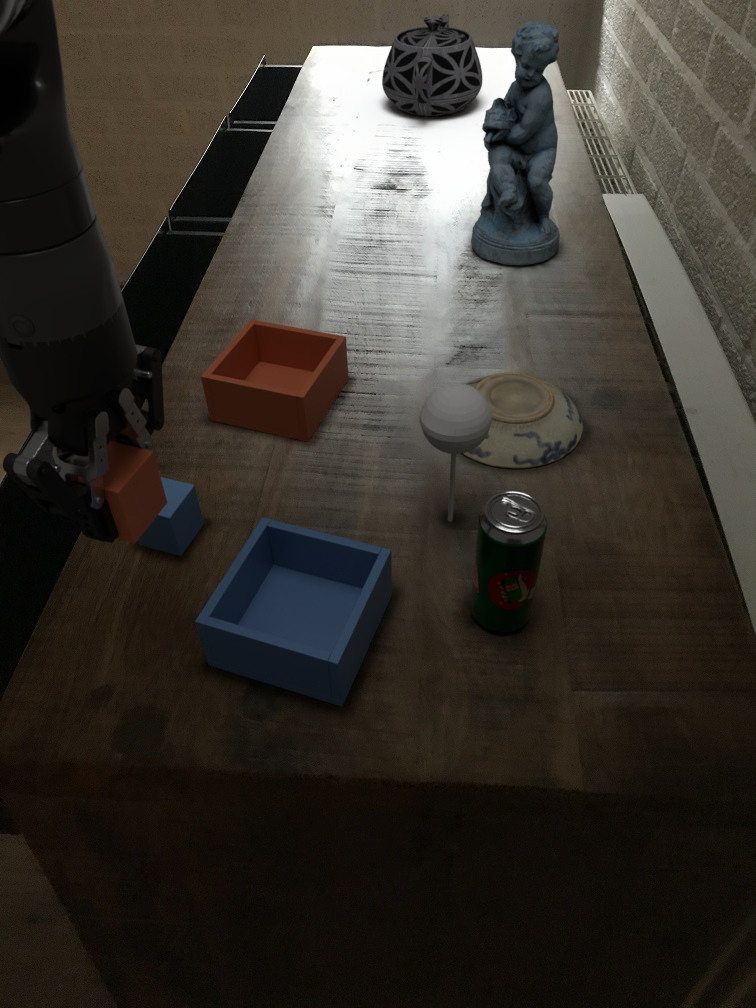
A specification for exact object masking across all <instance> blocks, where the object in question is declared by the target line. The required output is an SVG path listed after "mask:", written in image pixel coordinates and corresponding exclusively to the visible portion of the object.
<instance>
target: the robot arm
mask: <svg viewBox="0 0 756 1008" xmlns="http://www.w3.org/2000/svg"><path fill="white" fill-rule="evenodd" d="M54 5H55V4H54V0H0V359H1V362H2V365H3V367H4V369H5V372H6V374H7V377H8V379H9V381H10V383H11V385H12V386H13V388H14V389H15V390H16V391H17V393H18V394H19V395H20V396H21V397H22V398H23V400H24V401H25V402H26V403H27V405H28V407H29V414H30V419H29V420H30V421H29V426H30V431H31V433H32V436H31V438H30V440H29V441H28V443H27V444H26V446H25V448H24V449H23V450H22V451H21V453H20V454H19V453H16V452H9V453H7V454H6V455H5V456H4V458H3V460H2V469H3V471H4V472H5V473H6V474H7V475H8V476H9V477H10V478H11V479H12V480H13V481H14V482H15V483H16V484H17V485H18V486H19V487H20V489H22V491H24V492H25V493H26V495H27V496H28V497H29V498H30V499H31V500H32V501H33V502H34V503H35V504H36V505H37V506H38V508H40V509H41V510H42V511H43V512H44V513H48V514H51V515H52V514H54V515H58V516H61V517H64V518H68V519H69V520H72V521H76V522H78V524H79V527H80V530H81V532H82V535H84V536H85V537H86V538H89V539H92V540H96V541H99V542H103V543H109V544H113V543H114V542H115V541H116V540H117V539H116V538H117V537H118V536H119V533H118V530H117V527H116V524H115V521H114V519H113V516H112V513H111V510H110V507H109V504H108V501H107V500H105V499H104V498H105V497H104V484H103V474H105V473H107V472H108V470H109V466H108V452H107V445H108V444H109V442H110V441H114V442H118V443H122V444H126V445H130V446H134V447H138V448H142V449H146V450H150V451H152V448H153V445H154V440H153V437H152V435H153V433H154V431H161V430H162V429H163V427H164V425H165V406H164V405H165V404H164V385H163V384H164V383H163V363H162V361H163V360H162V352H161V350H160V349H159V348H154V347H149V346H145V345H140V344H136V342H135V337H134V334H133V332H132V331H133V330H132V327H131V323H130V319H129V315H128V312H127V308H126V304H125V299H124V296H123V292H122V288H121V285H120V281H119V278H118V273H117V270H116V266H115V262H114V259H113V255H112V252H111V250H110V246H109V244H108V240H107V239H106V236H105V234H104V232H103V230H102V227H101V225H100V223H99V220H98V215H97V213H96V209H95V206H94V201H93V198H92V194H91V190H90V186H89V183H88V179H87V175H86V172H85V167H84V165H83V161H82V157H81V154H80V151H79V147H78V145H77V143H76V140H75V136H74V134H73V129H72V127H71V122H70V117H69V111H68V105H67V95H66V85H65V76H64V69H63V60H62V53H61V47H60V45H61V44H60V39H59V33H58V32H59V30H58V25H57V18H56V12H55V6H54ZM141 398H143V399H145V400H146V402H147V410H146V409H142V407H141ZM82 456H89V459H88V458H84V457H82ZM78 476H80V477H82V478H83V479H84V480H85V486H81V485H79V479H78Z"/></svg>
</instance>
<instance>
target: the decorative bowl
mask: <svg viewBox="0 0 756 1008" xmlns="http://www.w3.org/2000/svg"><path fill="white" fill-rule="evenodd" d="M465 384H466V385H469V386H471V387H473V388H475V389H476V390H478V391H479V392H480V393H481V394H482V395H483V396H484V397H485V399H486V401H487V402H488V404H489V406H490V408H491V410H492V424H491V427H490V430H489V432H488V434H487V436H486V438H485V439H484V440H483V442H482V443H481V444H480V445H479V446H477V447H476V448H475V449H473V450H471V451H469V452H466V453H462V454H463V455H464V456H465V457H467V458H469V459H470V460H472V461H475V462H477V463H481V464H483V465H486V466H490V467H496V468H501V469H502V468H503V469H518V470H519V469H530V468H535V467H541V466H546V465H549V464H551V463H553V462H556V461H559V460H561V459H563V458H564V457H565V456H567V455H568V454H569V453H572V451H573V450H575V449H576V447H577V445H578V444H579V442H580V441H581V438H582V434H584V433H583V432H584V426H583V424H584V423H583V420H582V416H581V414H580V412H579V410H578V408H577V406H576V405H575V403H574V402H573V400H572V399H571V398H570V396H568V395H567V394H566V393H565V392H564V391H562V390H561V389H560V388H558V387H557V386H555V385H554V384H552V383H550V382H549V381H546V380H545V379H544V380H543V379H541V378H538V377H534V376H533V375H529V374H526V373H521V372H520V373H519V372H512V371H511V372H510V371H509V372H508V371H507V372H499V373H498V372H497V373H494V374H490V375H486V376H482V377H479V378H476V379H474V380H471V381H469V382H467V383H465Z"/></svg>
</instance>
